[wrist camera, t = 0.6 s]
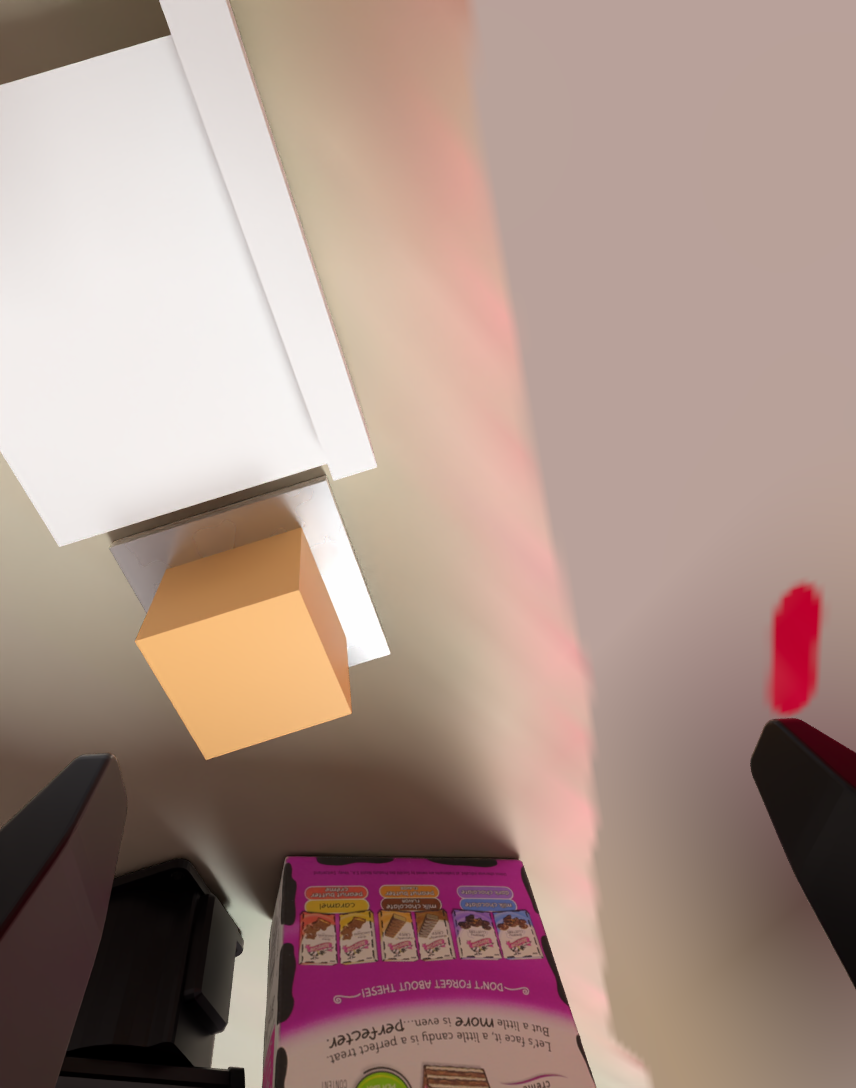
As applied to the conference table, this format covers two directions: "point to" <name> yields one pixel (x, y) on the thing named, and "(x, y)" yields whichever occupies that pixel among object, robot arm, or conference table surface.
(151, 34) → the conference table surface
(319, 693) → the orange cube
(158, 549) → the plate
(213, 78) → the white box
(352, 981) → the candy bar box
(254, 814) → the conference table surface
